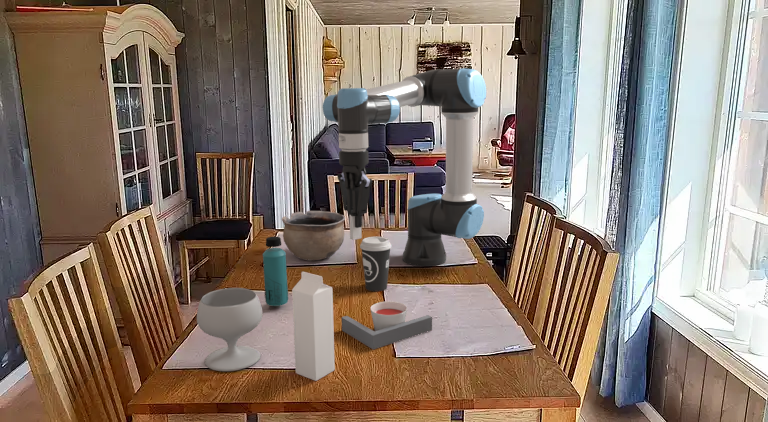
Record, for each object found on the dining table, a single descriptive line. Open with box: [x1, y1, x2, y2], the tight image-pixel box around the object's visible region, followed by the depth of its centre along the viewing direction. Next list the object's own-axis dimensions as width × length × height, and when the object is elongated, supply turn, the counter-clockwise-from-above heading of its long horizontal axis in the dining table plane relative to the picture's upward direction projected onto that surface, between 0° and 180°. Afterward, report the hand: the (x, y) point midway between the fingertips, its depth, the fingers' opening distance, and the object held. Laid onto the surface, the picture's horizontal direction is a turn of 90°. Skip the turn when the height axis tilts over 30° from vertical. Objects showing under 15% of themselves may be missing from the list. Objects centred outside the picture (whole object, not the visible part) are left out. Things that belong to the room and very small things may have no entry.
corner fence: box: [341, 314, 433, 350], centre depth 144 cm, size 18×14×4 cm
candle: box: [370, 300, 408, 331], centre depth 143 cm, size 9×9×6 cm
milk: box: [291, 271, 336, 382], centre depth 122 cm, size 6×6×22 cm
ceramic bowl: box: [281, 210, 346, 261], centre depth 205 cm, size 22×22×15 cm
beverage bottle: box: [262, 236, 289, 307], centre depth 159 cm, size 6×7×20 cm
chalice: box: [196, 287, 263, 372], centre depth 128 cm, size 14×14×15 cm
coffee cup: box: [359, 236, 392, 292], centre depth 174 cm, size 10×10×15 cm
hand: (355, 238), depth 153 cm, fingers closed
